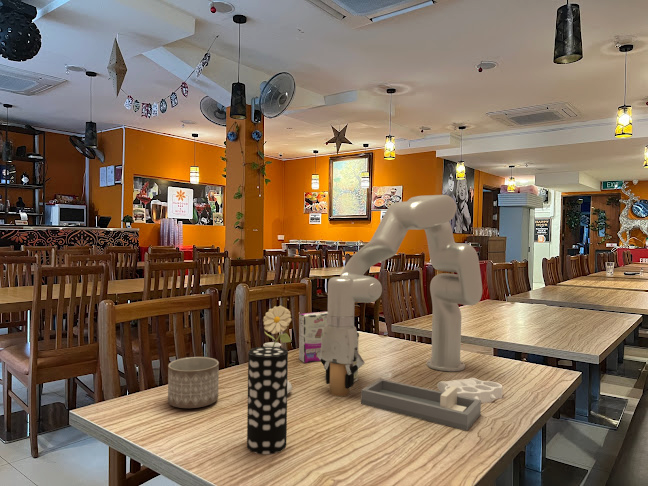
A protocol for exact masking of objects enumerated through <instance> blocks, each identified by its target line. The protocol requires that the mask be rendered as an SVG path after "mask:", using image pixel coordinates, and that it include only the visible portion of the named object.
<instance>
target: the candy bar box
mask: <svg viewBox="0 0 648 486" xmlns="http://www.w3.org/2000/svg"><path fill="white" fill-rule="evenodd" d="M327 314H328V311H320V312H319V311H318V312H307V313H299V315H298V316H299V317H298V333H299V334H298V336H299V337H298V360H299V361H301V362H302V363H303V364H308V363H314V362H321V360H320V359H319V358H318V357H317V353H318V352H319V351H320V350H321V343H322V335H323V330H324V326H325V325H326V324H327V320H325V319H324V316H325V315H327Z"/></svg>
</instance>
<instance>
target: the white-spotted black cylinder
mask: <svg viewBox="0 0 648 486" xmlns="http://www.w3.org/2000/svg"><path fill="white" fill-rule="evenodd" d="M247 354H248V355H247V356H248V357H247V361H248V362H247V416H246V417H247V423H246V427H247V428H246V429H247V430H246V432H247V433H246V436H247V437H246V438H247V439H246V446H247V449H248V450H249V451H250V452H252V453H254V454H259V455H273V454H276V453H279V451H280V452H282V451H283V450H284V449H285V448H286V447H287V438H288V437H287V435H288V434H287V433H288V432H287V430H288V429H287V427H288V426H287V425H288V421H287V420H288V394H287V380H288V368H289V364H288V363H289V358H288V357H289V350H288V349H286V348H283V347H281V346H280V347H264V346H260V347H259V346H258V347H254V348H251V349H250V350H248V353H247ZM281 450H282V451H281Z"/></svg>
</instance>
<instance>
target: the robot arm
mask: <svg viewBox="0 0 648 486" xmlns="http://www.w3.org/2000/svg"><path fill="white" fill-rule="evenodd" d="M456 212H457V205H456V201H455V199H454V198H453V197H452V196H450V195H447V194H433V195H432V194H431V195H430V194H429V195H428V194H427V195H418V196H417V195H416V196H412V197H410V198H409V199H408V200H406V201H398V202H397V201H396V202H393V203H392V204H390V205H389V207H388V208H386V211H385V213H384V214H383V217H382V218H381V220H380V222H379V224H378V226H377V229H375V232H374V233H373V236H372V237H371V239H370V240H369V241H368V242H367V243H366V244H364V246H362V247H361V248H360V249H359V250H358V251H356V253H354V254H353V255H352V256H351V257H350V258H349V259H348V261H347V263H346V264H345V266H344V268H343V269H342V271H341V273H340V275H339V276H333V277H330V278H329V279H328V282H327V312H328V314H327V315H325V316H324V319H325V320H327V324H326V325H325V326H324V330H323V335H322V343H321V350H320V351H319V352H318V353H317V357H318V358H319V359H320V360H321V361H320V362H321V364H322V366H323V369H324V371H325V372H326V379H325V384H326V385H330V362H332V361H333V359H337V363H339V364H343V365H345V366H346V370H347V374H346V375H345V388H346V389H348V388H349V389H350V388H352V387H353V386H354V384H355V382H354V372H356V371H357V370H358V371H359V369H360V368H361V367H363V365H365V361H364V359H363V358H362V356H361V355H360V353H359V337H357V332H358V331H357V327H356V326H355V303H366V304H369V303H373V302H375V301H377V300H378V299H379V298H380V297H381V295H382V292H383V286H382V284H381V281H379V280H378V279H377V278H376V277H373V276H369V275H364V274H366V272H367V271H368V270H369V269H371V268H372V267H373V266H375V265H377V264H378V263H382V262H384V261H386V260H389V259H390V258H392V257H394V256H395V255H397V253H398V251H399V249H400V247H401V244H402V242H403V241H404V239H405V237H406V236H407V233H408V231H409V230H412V231H413V230H414V231H415V230H417V231H419V230H424V232H425V237H426V241H427V247H428V253H429V258H430V259H429V260H430V263H431V266H432V268H433V269H435V270H437V271H440V272H444V273H439V274H436V275H435V276H434V277H433V278H432V279H431V281H430V284H429V291H430V297H431V304H432V306H431V307H432V320H431V321H432V322H431V323H432V325H431V357H430V358H429V359H427V360H426V366H427V367H428V368H430V369H433V370H435V371H436V370H437V371H442V372H462V371H463V370H465V368H466V364H465V363H464V362H463V361H461V347H462V346H461V345H462V344H461V342H462V313H461V309H460V306H459V305H464V306H475V305H477V304H478V303H479V302H480V301H481V299H482V295H483V283H482V274H481V268H480V260H479V255H478V252H477V251H476V248H475V247H473V246H472V245H470V244H467V243H459V242H458V243H457V242H455V238H454V233H453V229H452V225H451V222H450V221H451V220H453V218H454V217H455V215H456ZM447 272H448V273H447ZM449 272H450V273H449ZM455 273H456V274H455ZM355 361H357V364H356V365H354V362H355Z"/></svg>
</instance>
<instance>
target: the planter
mask: <svg viewBox="0 0 648 486" xmlns="http://www.w3.org/2000/svg"><path fill="white" fill-rule="evenodd" d="M219 365H220V362H219V361H218V359H216V358H212V357H208V356H207V357H206V356H191V357H181V358H178V359H175V360H172V361H170V362H169V363H168V364H167V367H168V369H167V371H168V372H167V373H168V375H167V377H168V378H167V381H168V383H167V402H168V403H169V405H171V406H173V407H175V408H180V409H198V408H201V407H206V406H209V405H212V404H214V403H216V401H218V399H219V378H220V377H219V376H220V374H219V371H220V370H219V369H220V368H219Z"/></svg>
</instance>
